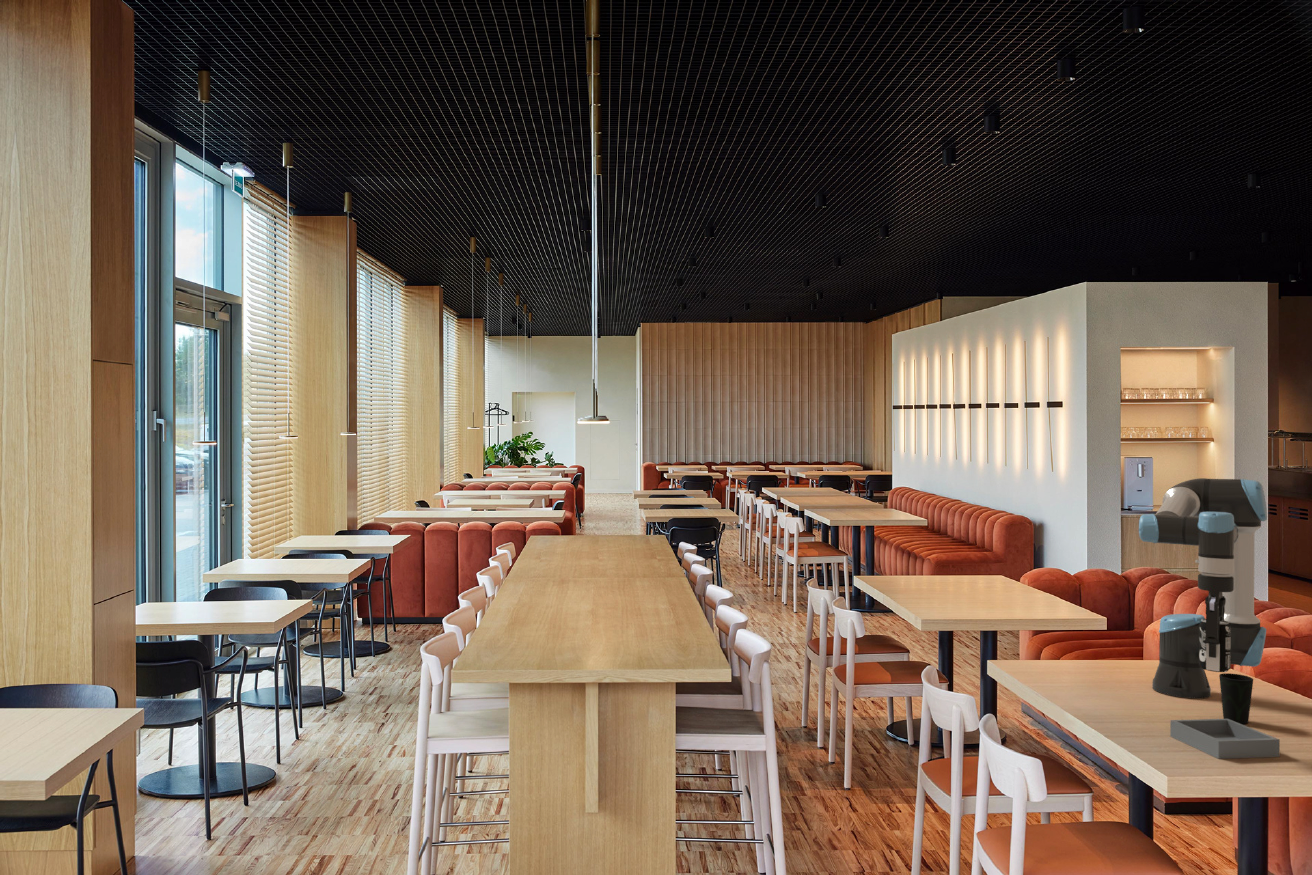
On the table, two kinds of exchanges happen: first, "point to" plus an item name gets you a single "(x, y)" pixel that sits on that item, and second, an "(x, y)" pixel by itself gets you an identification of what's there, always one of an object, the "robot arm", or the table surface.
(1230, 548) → the robot arm
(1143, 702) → the table surface
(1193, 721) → the tray
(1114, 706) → the table surface
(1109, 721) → the table surface
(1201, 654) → the beverage can
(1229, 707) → the cup
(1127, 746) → the table surface
